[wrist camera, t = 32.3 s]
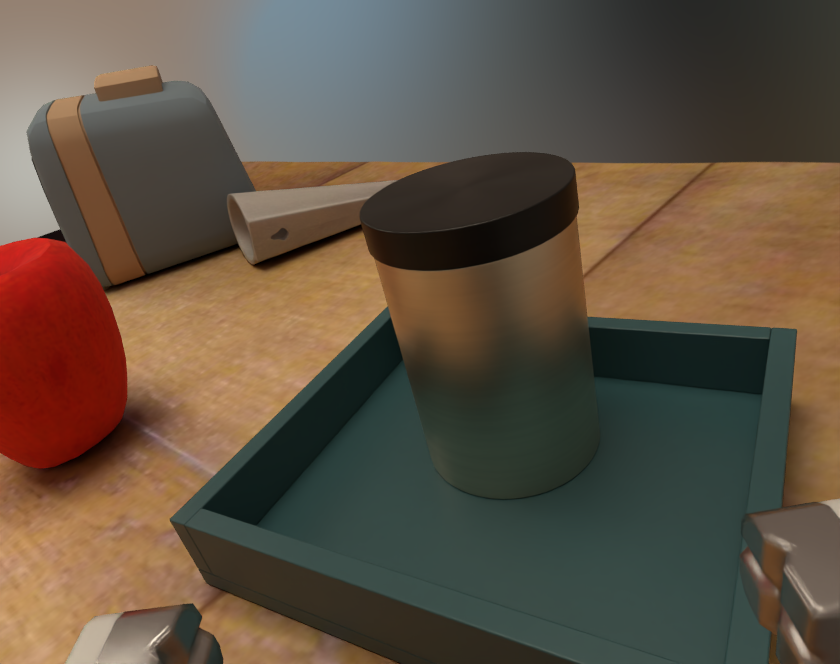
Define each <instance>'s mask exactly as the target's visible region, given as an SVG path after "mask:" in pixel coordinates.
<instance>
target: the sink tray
mask: <svg viewBox="0 0 840 664" xmlns="http://www.w3.org/2000/svg"><path fill="white" fill-rule="evenodd" d="M587 318H588V327H589V336H590V346H591V355H592V364H593V373H594V383H595V392H596V401H597V410H598V420H599V429H600V440H599V444H598V448H597V450H596V452H595V454H594V456H593V458H592V460H591V461H590V462H589V464H588V465H587V466H586V467H585V468H584V469H583V470H582V471H581V472H580V473H579V474H578V475H577V476H575V477H574V478H573V479H571V480H570V481H568V482H566V483H565V484H563V485H561V486H559V487H557V488H555V489H553V490H550V491H547V492H544V493H541V494H538V495H534V496H530V497H524V498H516V499H492V498H485V497H479V496H476V495H472V494H469V493H466V492H464V491H462V490H459V489H458V488H456V487H454V486H452V485H451V484H450V483H448V482H447V481H446V480H445V479H444V478H443V477H442V476H441V475H440V474H439V473H438V471H437V470H436V468H435V467H434V464H433V462H432V459H431V456H430V452H429V449H428V445H427V442H426V438H425V435H424V431H423V428H422V424H421V421H420V417H419V414H418V410H417V406H416V403H415V399H414V396H413V392H412V389H411V385H410V382H409V378H408V375H407V371H406V368H405V364H404V361H403V357H402V354H401V350H400V347H399V343H398V340H397V336H396V333H395V329H394V326H393V322H392V319H391V315H390V312H389V308H388V307H387V308H386V309H385V310H383V311H382V312H381V313H380V314H379V315H378V316H377V317H376V318H375V319H374V320H373V321H372V322H371V323H370V324H369V325H368V326H367V327H366V328H365V329H364V330H363V331H362V332H361V333H360V334H359V335H358V336H357V337H356V338H355V339H354V340H353V341H352V342H351V343H350V344H349V345H348V346H347V347H346V348H345V349H344V350H343V351H341V352H340V353H339V354H338V355H337V356H336V357H335V358H334V359H333V360H332V361H331V362H330V363H329V364H328V365H327V366H326V367H325V368H324V369H323V370H322V371H321V372H320V373H319V374H318V375H317V376H316V377H315V378H314V379H313V380H312V381H311V382H310V383H309V384H308V385H307V386H306V387H305V388H304V389H303V390H302V391H301V392H300V393H298V394H297V395H296V396H295V397H294V398H293V399H292V400H291V401H290V402H289V403H288V404H287V405H286V406H285V407H284V408H283V409H282V410H281V411H280V412H279V413H278V414H277V415H276V416H275V417H274V418H273V419H272V420H271V421H270V422H269V423H268V424H267V425H266V426H265V427H264V428H263V429H262V430H261V431H260V432H259V433H258V434H256V435H255V436H254V437H253V438H252V439H251V440H250V441H249V442H248V443H247V444H246V445H245V446H244V447H243V448H242V449H241V450H240V451H239V452H238V453H237V454H236V455H235V456H234V457H233V458H232V459H231V460H230V461H229V462H228V463H227V464H226V465H225V466H224V467H223V468H222V469H221V470H220V471H219V472H218V473H217V474H216V475H215V476H213V477H212V478H211V479H210V480H209V481H208V482H207V483H206V484H205V485H204V486H203V487H202V488H201V489H200V490H199V491H198V492H197V493H196V494H195V495H194V496H193V497H192V498H191V499H190V500H189V501H188V502H187V503H186V504H185V505H184V506H183V507H182V508H181V509H180V510H179V511H178V512H177V513H176V514H175V515H174V516H173V517H171V518H170V522H171V523H172V525H173V527H174V528H175V530H176V532H177V533H178V535H179V537H180V539H181V540H182V542H183V544H184V545H185V547H186V549H187V550H188V552H189V554H190V555H191V557H192V559H193V560H194V562H195V564H196V566H197V567H198V568H199V571H200V573H201V574H202V576H203V578H204V579H205V581H206V583H208V584H210V585H213V586H215V587H217V588H220V589H222V590H225V591H227V592H230V593H232V594H234V595H237V596H239V597H242V598H244V599H246V600H249V601H251V602H254V603H256V604H259V605H261V606H263V607H266V608H268V609H271V610H273V611H276V612H278V613H280V614H283V615H285V616H288V617H290V618H292V619H295V620H297V621H300V622H302V623H305V624H307V625H309V626H312V627H314V628H317V629H319V630H322V631H324V632H326V633H329V634H331V635H334V636H336V637H339V638H341V639H343V640H346V641H348V642H351V643H353V644H355V645H358V646H360V647H363V648H365V649H368V650H370V651H372V652H375V653H377V654H380V655H382V656H385V657H387V658H389V659H392V660H394V661H397V662H399V663H401V664H769V658H770V646H771V634H772V632H770V631H769V630H767V629H766V628H765V627H763V626H762V625H760V624H759V622H758V620H757V619H756V617H755V615H754V613H753V611H752V609H751V607H750V604H749V602H748V599H747V597H746V594H745V592H744V588H743V584H742V580H741V575H740V554H741V553H742V552H743V551H744V550H745V549H746V547H747V546H748V545H747V544H746V542H745V540H744V538H743V537H742V535H741V533H740V532H741V520H742V518H743V516H744V515H745V514H747V513H753V512H759V511H765V510H771V509H776V508H782V505H783V493H784V481H785V469H786V457H787V446H788V434H789V422H790V410H791V398H792V386H793V374H794V362H795V349H796V337H797V329H787V328H772V329H771V328H769V327H752V326H735V325H718V324H701V323H684V322H667V321H650V320H633V319H616V318H599V317H587Z"/></svg>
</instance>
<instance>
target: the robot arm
mask: <svg viewBox="0 0 840 664" xmlns="http://www.w3.org/2000/svg"><path fill="white" fill-rule="evenodd" d="M740 533H741V535H742V537H743V538H744V540H745V542H746V544H747V545H748V546H747V547H746V549H745V550H744V551H743V552H742V553H741V554H740V575H741V580H742V584H743V588H744V592H745V594H746V597H747V599H748V602H749V604H750V607H751V609H752V611H753V613H754V615H755V617H756V619H757V620H758V622H759V624H760V625H762V626H763V627H765V628H766V629H767V630H769V631H770V632H772V633H773V634H775V635H776V636H777V645H776V656H777V658H778V660H779V662H780V664H840V499H834V500H828V501H822V502H811V503H805V504H800V505H794V506H788V507H782V508H776V509H771V510H765V511H759V512H753V513H747V514H745V515H744V516H743V518H742V520H741V532H740ZM201 619H202V616H201V614H200V613H199V612H198V610H197V609H196V607H195V606H194V604H193V603H192V604H182V605H174V606H166V607H158V608H151V609H143V610H135V611H127V612H121V613H114V614H107V615H101V616H95V617H94V618H92V619H91V620H90V621H89V622H88V623H87V624H86V625H85V626H84V628H83V629H82V631H81V633H80V635H79V637H78V639H77V641H76V643H75V645H74V647H73V649H72V651H71V653H70V655H69V657H68V658H67V660H66V662H65V664H223V657H222V653H221V649H220V645H219V643H218V642H217V640H216V638H215V637H214V635H212V634H210V633H209V632H207V631H205V630H203V629H201V628H199V625H200V622H201Z"/></svg>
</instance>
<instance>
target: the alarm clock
mask: <svg viewBox="0 0 840 664" xmlns="http://www.w3.org/2000/svg"><path fill="white" fill-rule="evenodd" d="M94 89H95V91H96V93H95V94H89V95H83V96H76V97H70V98H64V99H57V100H54V101H52V102H50V103H47V104H45V105H43V106H42V107H41V108H40V109H39V110H38V111H37V113H36V115H35V117H34V119H33V121H32V122H31V124H30V126H29V128H28V130H27V136H28V141H29V148H30V153H31V156H32V161H33V164H34V167H35V169H36V172H37V175H38V177H39V180H40V182H41V185H42V188H43V190H44V193H45V195H46V197H47V199H48V202H49V204H50V206H51V209H52V211H53V213H54V215H55V218H56V220H57V222H58V224H59V227H60V229H61V231H62V233H63V235H64V237H65V240H66V242H67V244H68V245H69V246H70V247H71V248H72V249H73V250H74V251H75V252H76V253H77V254H78V255H79V256H80V257H81V258H82V259H83V260H84V261H85V262H86V263H87V264H88V265H89V266H90V268H91V269H92V271H93V273H94V274H95V276H96V277H97V279H98V280H99V282H100V283H101V286H102V287H106V286H113V285H117V284H120V283H123V282H126V281H129V280H132V279H135V278H138V277H141V276H144V275H146V274H147V273H148V274H150V273H152V272H155V271H158V270H161V269H164V268H167V267H170V266H173V265H176V264H179V263H182V262H185V261H188V260H191V259H194V258H197V257H200V256H203V255H206V254H209V253H212V252H215V251H217V250H220V249H223V248H226V247H229V246H232V245H235V244H238V242H237V240H236V237H235V234H234V232H233V229H232V225H231V222H230V218H229V214H228V208H227V196H228V194H233V193H245V192H256V190H255V188H254V186H253V184H252V182H251V180H250V178H249V176H248V174H247V172H246V171H245V169H244V167H243V165H242V163H241V161H240V159H239V157H238V155H237V153H236V151H235V149H234V147H233V145H232V143H231V141H230V139H229V137H228V135H227V133H226V131H225V129H224V127H223V125H222V123H221V121H220V119H219V118H218V115H217V114H216V112H215V110H214V108H213V106H212V104H211V102H210V101H209V99H208V98H207V97H206V95H205V94H204V93H203V92H202V90H201V89H200V88H199V87H197V86H195V85H193V84H191V83H189V82H184V81H171V82H165V83H163V82H162V79H161V76H160V73H159V70H158V68H157V66H152V65H151V66H145V67H140V68H134V69H128V70H123V71H117V72H112V73H106V74H101V75H99V76H97V77H96V79H95V82H94Z"/></svg>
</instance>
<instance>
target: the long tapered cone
mask: <svg viewBox="0 0 840 664" xmlns="http://www.w3.org/2000/svg"><path fill="white" fill-rule="evenodd" d="M396 181H398V180H394V181H382V182H370V183H358V184H346V185H333V186H321V187H308V188H296V189H285V190H271V191H257V192H245V193H233V194H228V196H227V208H228V214H229V218H230V222H231V225H232V229H233V232H234V234H235V237H236V240H237V242H238V244H239V246H240V249H241V251H242V252H243V254H244V256H245V258H246V259H247V260H248V262H249V263H251V264H256V263H259V262H262V261H264V260H267V259H270V258H273V257H275V256H278V255H281V254H283V253H286V252H289V251H291V250H293V249H296V248H299V247H301V246H304V245H307V244H309V243H312V242H315V241H318V240H320V239H323V238H326V237H329V236H331V235H334V234H337V233H339V232H342V231H345V230H347V229H350V228H352V227H355V226H358V225H361V221H360V217H359V213H360V210H361V207H362V206H363V204H364V203H365V202H366V201H367V200H368V199H369V198H370V197H371V196H373V195H374V194H375V193H377V192H378V191H380V190H381V189H383V188H384V187H386V186H388V185H390V184H392V183H394V182H396Z"/></svg>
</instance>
